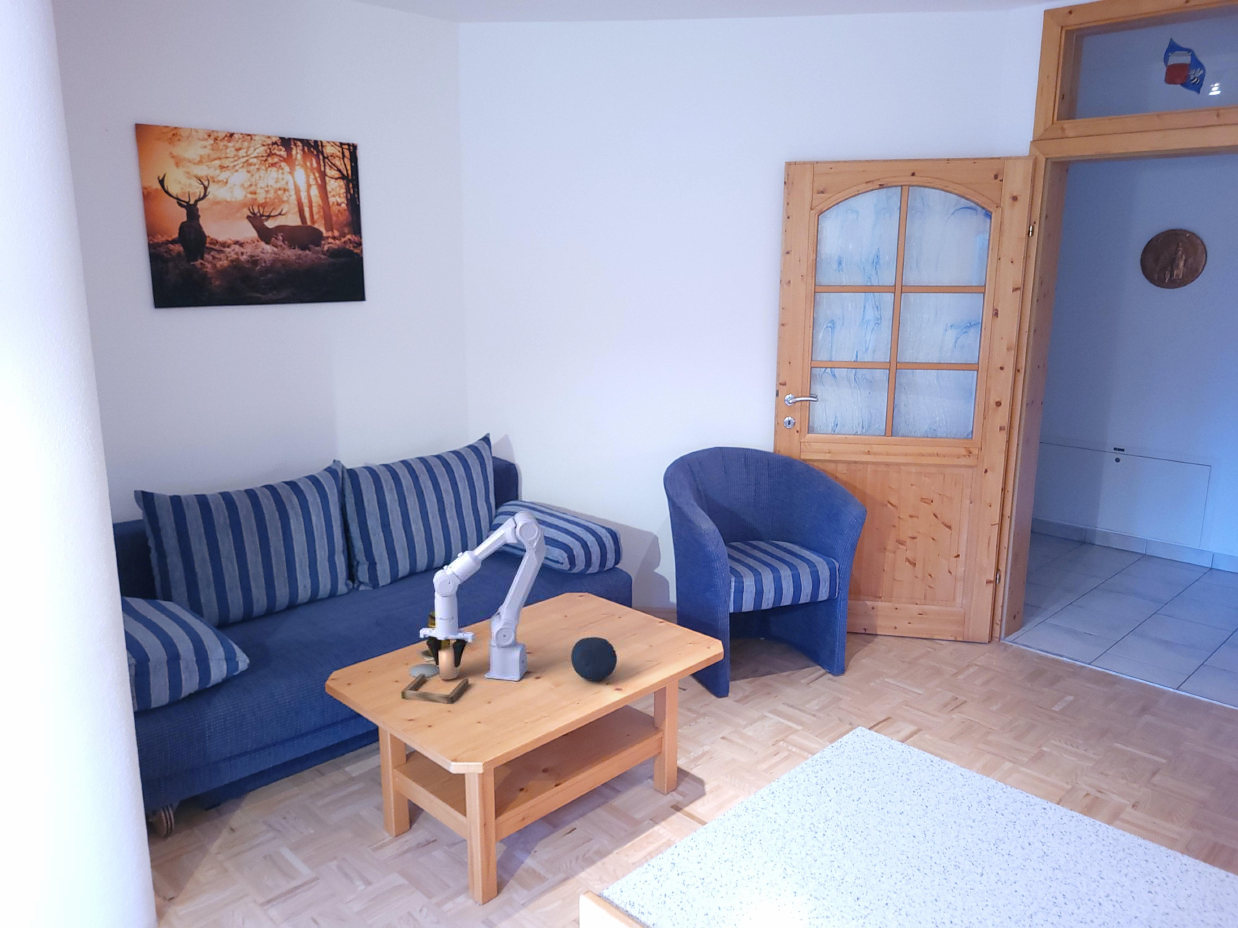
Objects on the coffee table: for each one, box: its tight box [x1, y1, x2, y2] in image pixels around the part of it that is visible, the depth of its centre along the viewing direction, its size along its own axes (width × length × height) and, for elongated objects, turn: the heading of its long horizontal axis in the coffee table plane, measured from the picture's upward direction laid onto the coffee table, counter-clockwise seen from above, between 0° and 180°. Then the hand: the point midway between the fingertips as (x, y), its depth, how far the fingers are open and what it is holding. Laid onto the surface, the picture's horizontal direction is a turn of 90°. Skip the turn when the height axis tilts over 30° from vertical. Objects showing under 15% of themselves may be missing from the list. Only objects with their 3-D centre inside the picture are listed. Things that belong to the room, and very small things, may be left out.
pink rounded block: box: [438, 646, 459, 680], centre depth 246 cm, size 7×5×7 cm
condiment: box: [417, 610, 451, 662], centre depth 261 cm, size 7×8×12 cm
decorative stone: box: [570, 636, 618, 682], centre depth 246 cm, size 12×12×10 cm
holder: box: [400, 674, 470, 705], centre depth 238 cm, size 13×11×2 cm
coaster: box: [408, 663, 439, 679], centre depth 250 cm, size 8×8×1 cm
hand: (448, 664), depth 245 cm, fingers closed on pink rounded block, 5 cm apart
